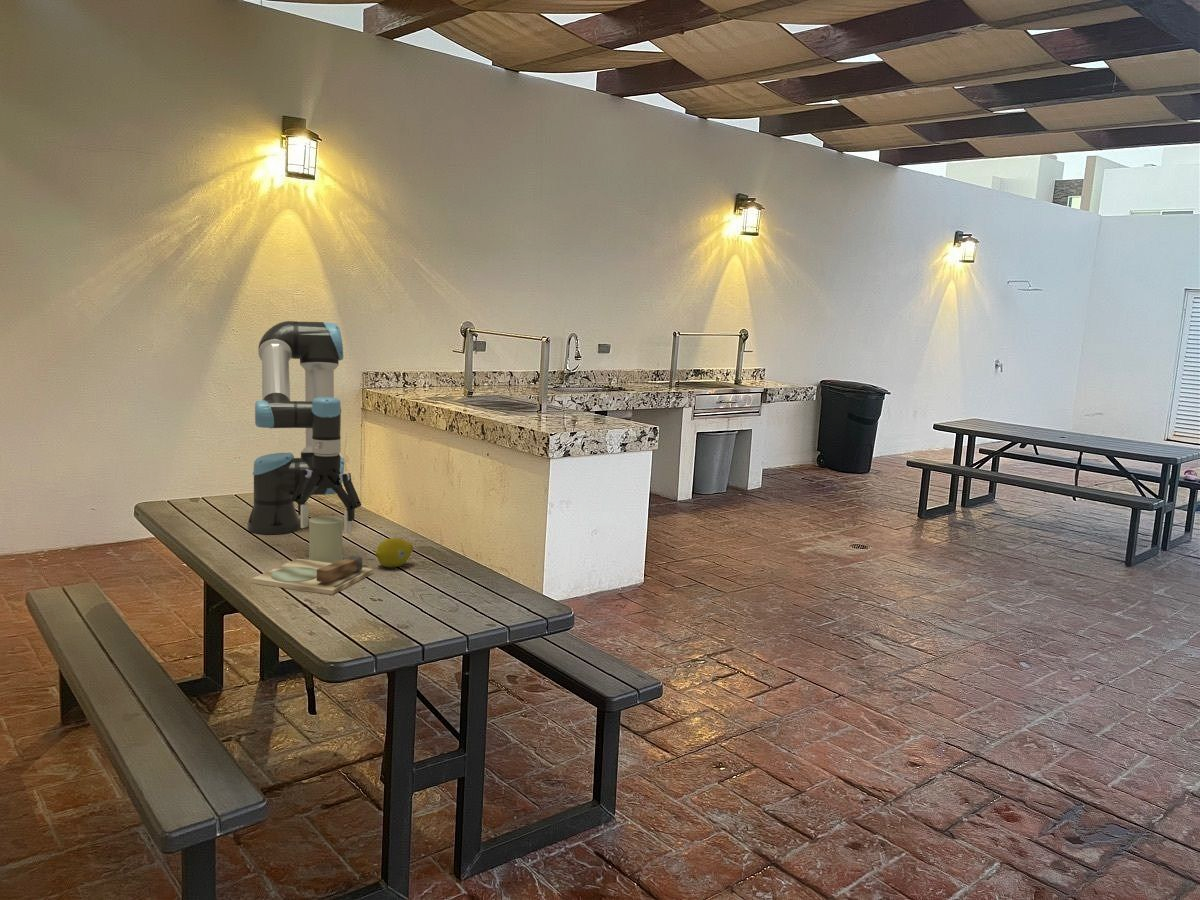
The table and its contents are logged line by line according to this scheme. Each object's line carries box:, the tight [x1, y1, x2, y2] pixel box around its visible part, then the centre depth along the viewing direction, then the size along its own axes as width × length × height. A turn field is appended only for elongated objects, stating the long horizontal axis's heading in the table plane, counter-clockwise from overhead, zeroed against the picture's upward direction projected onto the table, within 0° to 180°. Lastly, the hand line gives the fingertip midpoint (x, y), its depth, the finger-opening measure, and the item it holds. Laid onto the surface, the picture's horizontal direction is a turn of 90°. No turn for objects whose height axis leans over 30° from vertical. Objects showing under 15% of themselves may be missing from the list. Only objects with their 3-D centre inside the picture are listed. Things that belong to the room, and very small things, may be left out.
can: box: [308, 515, 344, 563], centre depth 255 cm, size 9×9×12 cm
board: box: [251, 558, 374, 596], centre depth 239 cm, size 20×23×2 cm
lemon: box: [374, 537, 414, 569], centre depth 252 cm, size 11×8×8 cm
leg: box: [317, 555, 363, 583], centre depth 237 cm, size 15×4×3 cm, turn 158°
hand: (326, 529), depth 254 cm, fingers open, 13 cm apart
